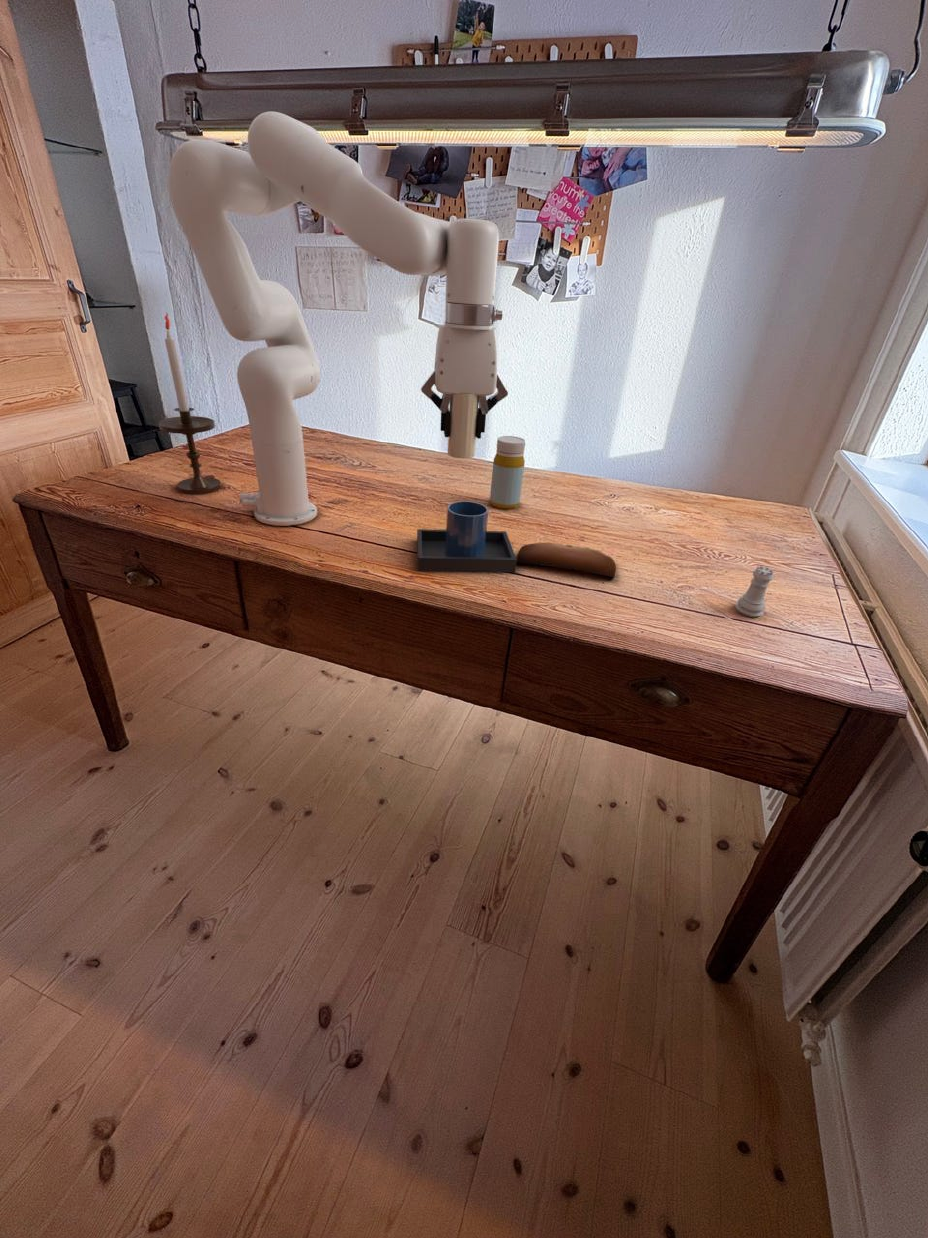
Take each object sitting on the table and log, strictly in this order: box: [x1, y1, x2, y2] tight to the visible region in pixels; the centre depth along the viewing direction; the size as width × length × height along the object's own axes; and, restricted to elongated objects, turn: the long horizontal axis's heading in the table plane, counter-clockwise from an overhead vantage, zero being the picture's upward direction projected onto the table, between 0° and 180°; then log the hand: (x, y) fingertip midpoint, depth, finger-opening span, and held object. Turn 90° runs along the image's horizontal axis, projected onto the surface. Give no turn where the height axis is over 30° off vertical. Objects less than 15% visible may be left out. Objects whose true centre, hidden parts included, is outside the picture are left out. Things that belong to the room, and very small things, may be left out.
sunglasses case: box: [516, 542, 617, 580], centre depth 102 cm, size 18×7×7 cm
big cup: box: [445, 500, 489, 557], centre depth 101 cm, size 7×7×9 cm
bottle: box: [489, 435, 526, 510], centre depth 124 cm, size 7×7×15 cm
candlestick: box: [158, 312, 222, 495], centre depth 115 cm, size 11×11×35 cm
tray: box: [416, 528, 517, 573], centre depth 103 cm, size 18×13×3 cm
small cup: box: [447, 393, 479, 459], centre depth 94 cm, size 5×5×10 cm
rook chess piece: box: [735, 565, 775, 618], centre depth 91 cm, size 4×4×8 cm
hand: (462, 434), depth 95 cm, fingers closed on small cup, 4 cm apart
